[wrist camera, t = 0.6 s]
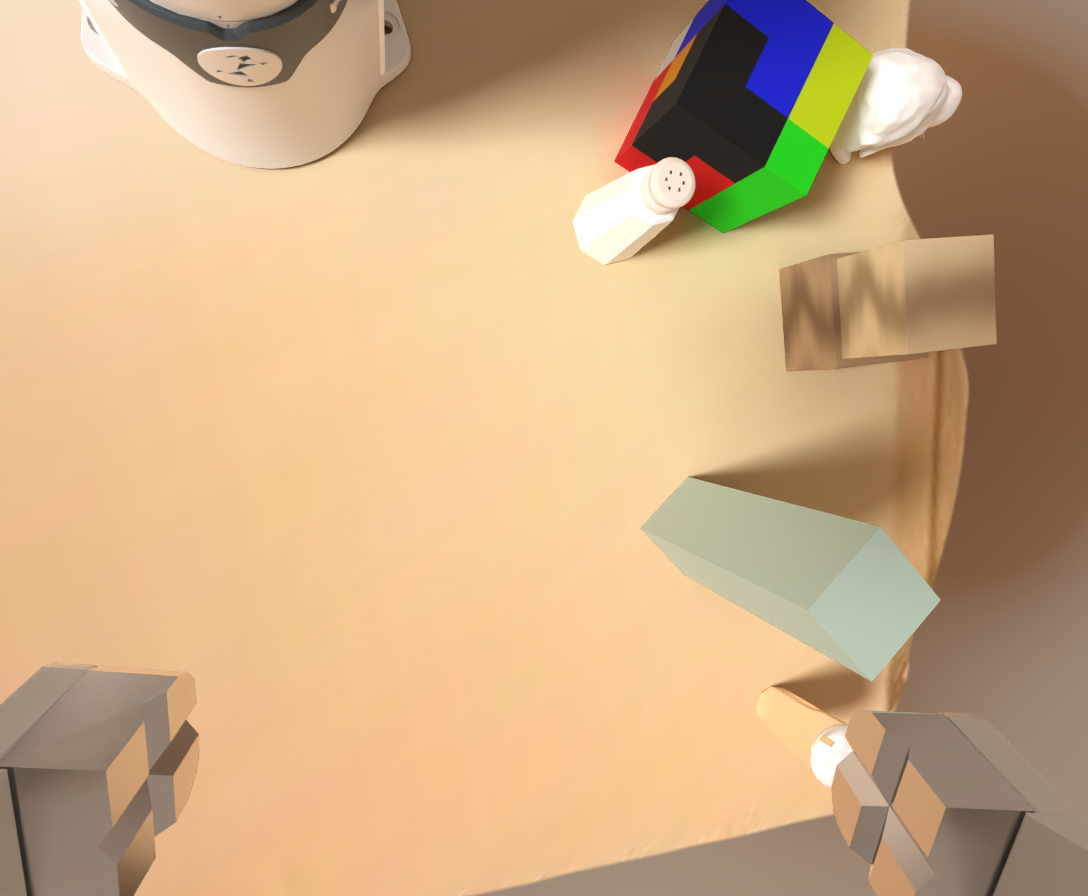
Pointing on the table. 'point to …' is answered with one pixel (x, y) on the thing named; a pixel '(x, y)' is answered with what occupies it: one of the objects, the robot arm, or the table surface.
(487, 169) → the table surface
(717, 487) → the pillar
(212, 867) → the table surface
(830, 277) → the tower bottom
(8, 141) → the table surface
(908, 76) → the white animal figurine
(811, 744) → the milkshake
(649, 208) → the pepper shaker
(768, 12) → the puzzle toy
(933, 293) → the tower top
